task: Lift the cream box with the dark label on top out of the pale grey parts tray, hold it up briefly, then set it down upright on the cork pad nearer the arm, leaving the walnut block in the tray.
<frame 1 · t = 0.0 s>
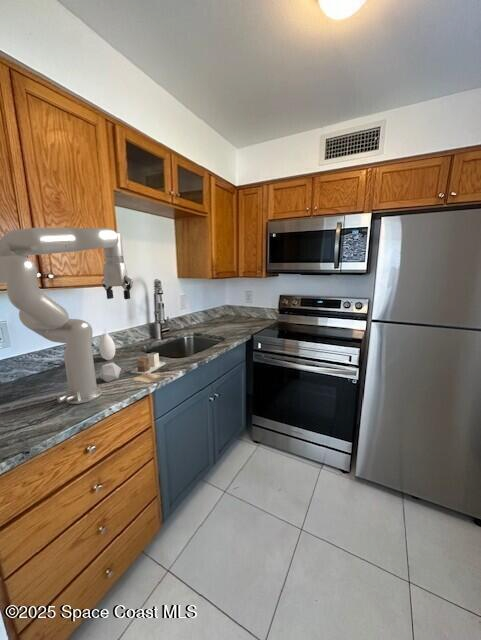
hand: (118, 298, 122), 37 cm above the worktop, tool pointing down, fingers open, 9 cm apart
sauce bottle: (108, 360, 150), on the worktop
label box: (153, 364, 139), resting on tray
pad: (146, 378, 123), on the worktop
walnut block: (143, 370, 132), resting on tray
tray: (149, 368, 135), on the worktop
die: (111, 380, 122), on the worktop
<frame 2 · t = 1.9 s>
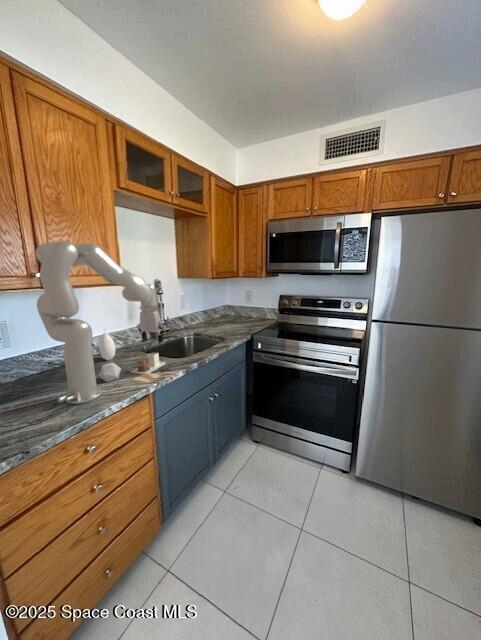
hand: (152, 341, 137), 13 cm above the worktop, tool pointing down, fingers open, 9 cm apart
nothing on the worktop moved.
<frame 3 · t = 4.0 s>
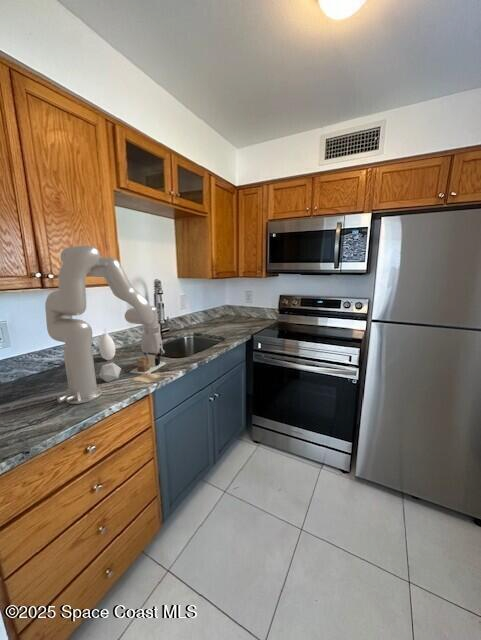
hand: (153, 364, 139), 1 cm above the worktop, tool pointing down, fingers closed on label box, 4 cm apart
label box: (153, 364, 139), point 1 cm above the worktop, touching gripper, tray
everything else where it was.
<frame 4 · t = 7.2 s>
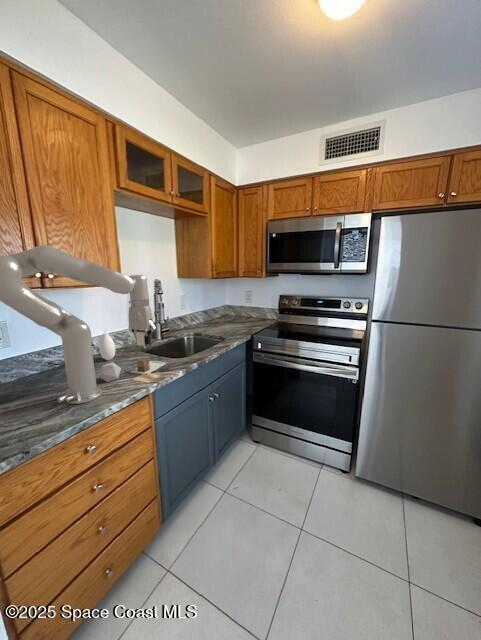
hand: (143, 343, 120), 17 cm above the worktop, tool pointing down, fingers closed on label box, 4 cm apart
label box: (143, 344, 120), point 17 cm above the worktop, touching gripper
everything else where it was.
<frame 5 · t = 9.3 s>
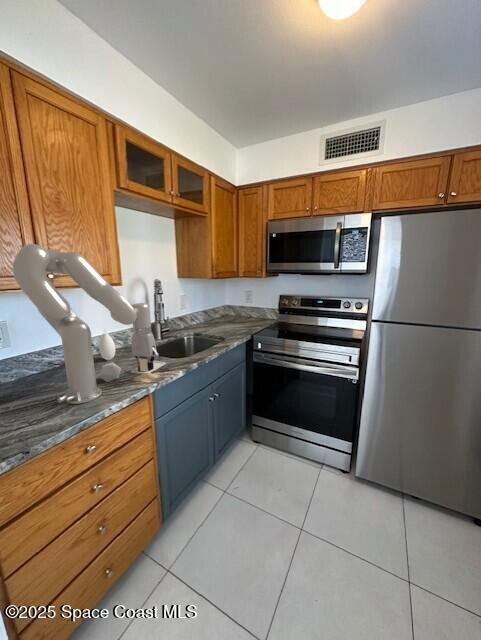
hand: (146, 368, 122), 5 cm above the worktop, tool pointing down, fingers closed on label box, 4 cm apart
label box: (146, 369, 122), point 4 cm above the worktop, touching gripper
everything else where it was.
when the fingers open (2 cm above the worktop, at t = 10.7 s): label box stays where it is, resting on pad.
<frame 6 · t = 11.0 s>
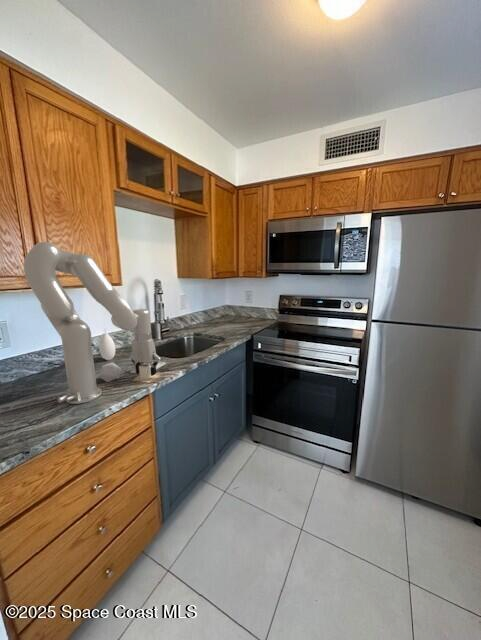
hand: (146, 373, 122), 3 cm above the worktop, tool pointing down, fingers open, 7 cm apart
label box: (146, 377, 123), point 1 cm above the worktop, touching pad
everything else where it was.
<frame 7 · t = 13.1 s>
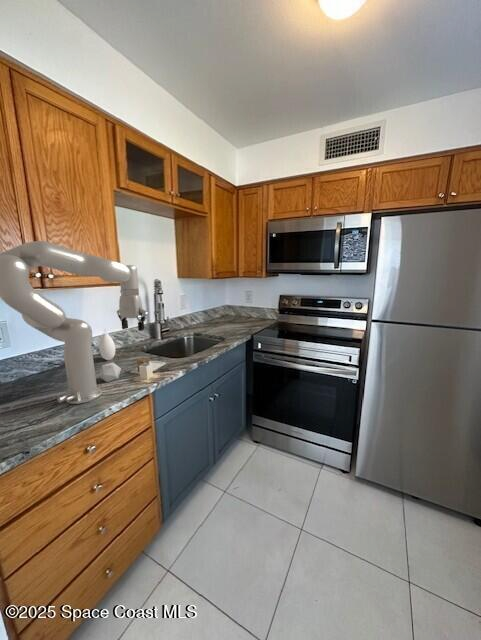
hand: (133, 329, 124), 22 cm above the worktop, tool pointing down, fingers open, 9 cm apart
nothing on the worktop moved.
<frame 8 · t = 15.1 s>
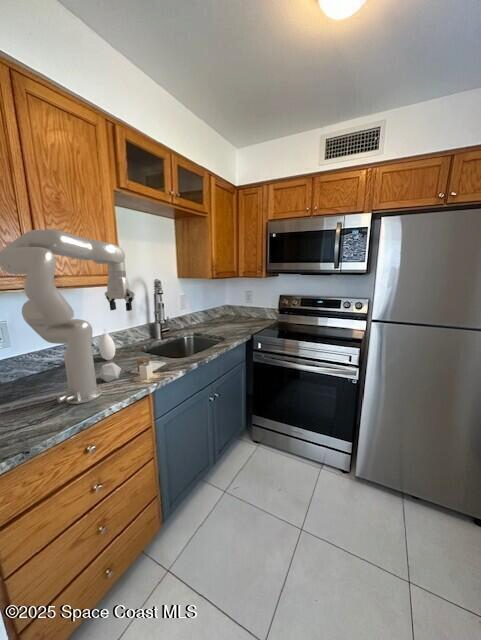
hand: (121, 310, 130), 30 cm above the worktop, tool pointing down, fingers open, 9 cm apart
nothing on the worktop moved.
at the end: label box inside the target area on the pad (0.0 cm from its centre), point 0.6 cm above the pad's base; label box tilted 0°; walnut block moved 0.1 cm from its start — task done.
